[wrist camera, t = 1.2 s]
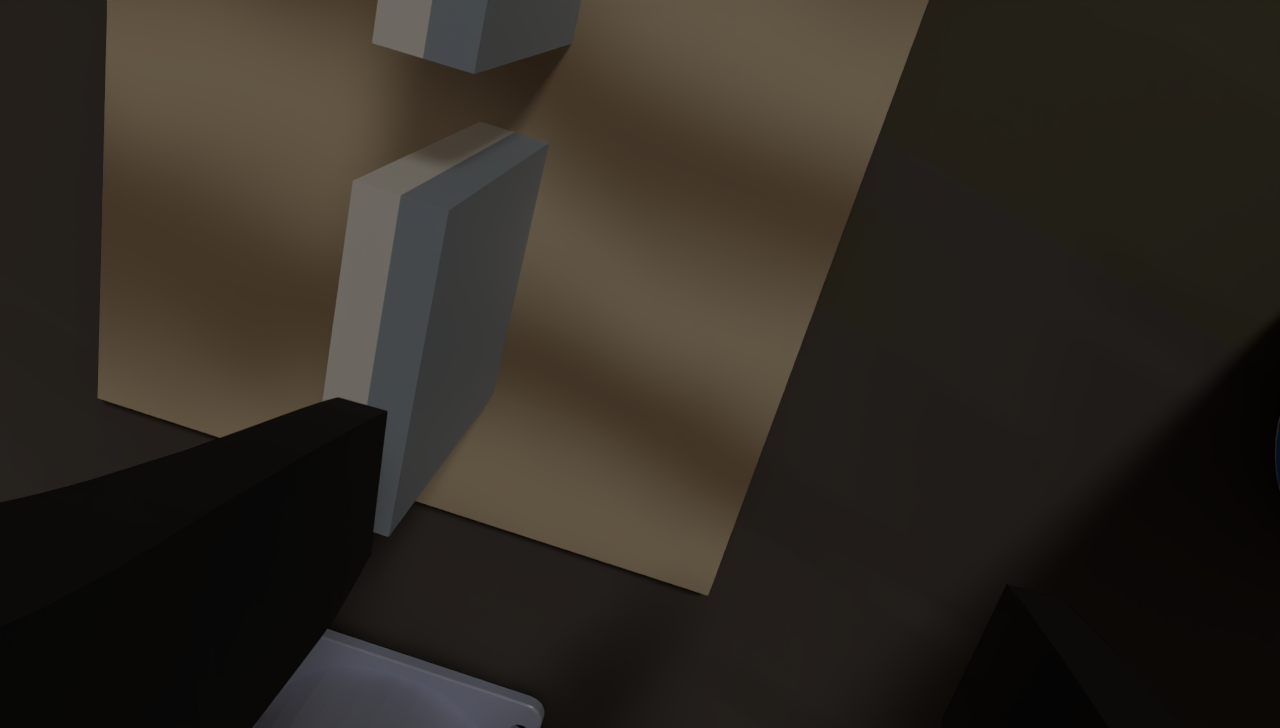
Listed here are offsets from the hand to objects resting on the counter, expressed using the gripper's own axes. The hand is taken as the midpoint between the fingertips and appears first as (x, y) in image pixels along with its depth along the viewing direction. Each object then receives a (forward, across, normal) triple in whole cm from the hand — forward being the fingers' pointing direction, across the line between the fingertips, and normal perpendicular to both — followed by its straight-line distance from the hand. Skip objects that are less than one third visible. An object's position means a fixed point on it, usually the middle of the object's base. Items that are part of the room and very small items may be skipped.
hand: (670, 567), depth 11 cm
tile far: (+10, +5, +1) cm, 11 cm away
